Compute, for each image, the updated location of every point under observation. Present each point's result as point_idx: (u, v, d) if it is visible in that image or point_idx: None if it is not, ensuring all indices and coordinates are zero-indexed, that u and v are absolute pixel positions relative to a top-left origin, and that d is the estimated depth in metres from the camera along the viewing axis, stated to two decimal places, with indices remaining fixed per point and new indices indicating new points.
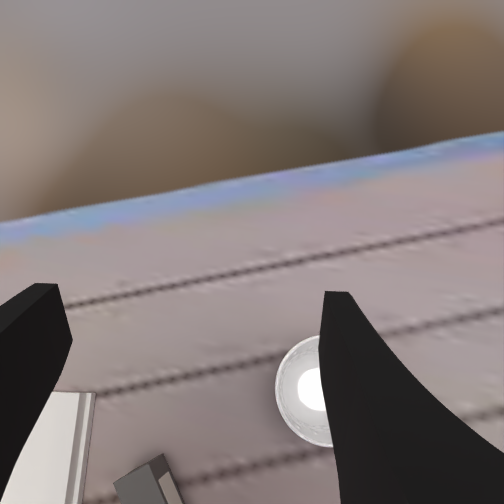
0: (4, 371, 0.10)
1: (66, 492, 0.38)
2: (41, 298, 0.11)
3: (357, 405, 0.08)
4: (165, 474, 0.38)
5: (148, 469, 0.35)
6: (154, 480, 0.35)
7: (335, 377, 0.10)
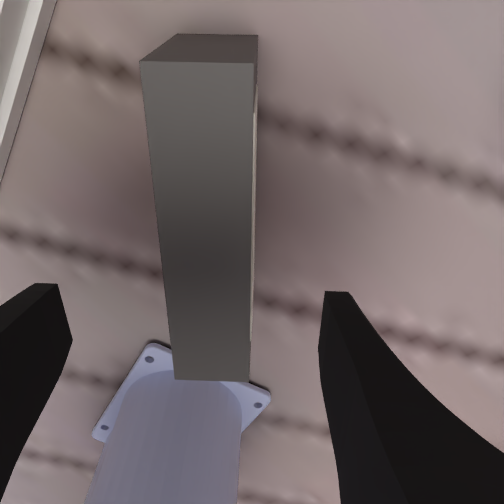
0: (4, 371, 0.10)
1: (4, 3, 0.14)
2: (41, 298, 0.11)
3: (357, 405, 0.08)
4: (256, 93, 0.16)
5: (247, 77, 0.12)
6: (250, 114, 0.12)
7: (335, 377, 0.10)
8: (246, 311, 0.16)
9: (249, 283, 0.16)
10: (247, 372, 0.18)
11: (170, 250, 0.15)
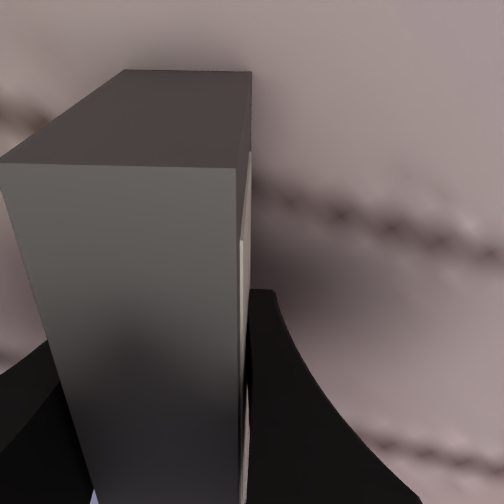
0: None
1: None
2: None
3: None
4: (248, 176, 0.09)
5: (222, 194, 0.06)
6: (231, 259, 0.06)
7: (249, 374, 0.10)
8: None
9: (236, 493, 0.09)
10: None
11: (99, 453, 0.09)
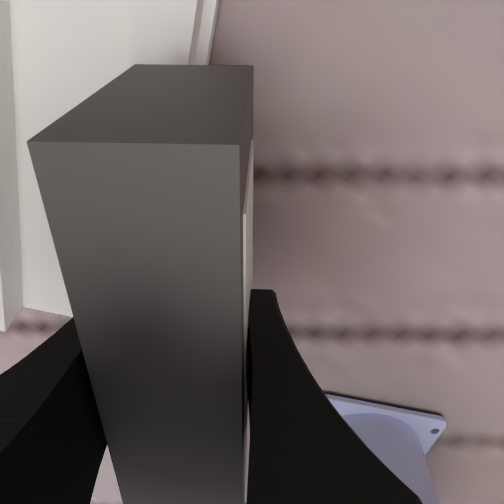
0: None
1: None
2: None
3: None
4: (250, 160, 0.10)
5: (227, 169, 0.06)
6: (236, 228, 0.07)
7: (249, 374, 0.10)
8: (237, 486, 0.11)
9: (241, 454, 0.10)
10: None
11: (115, 414, 0.09)
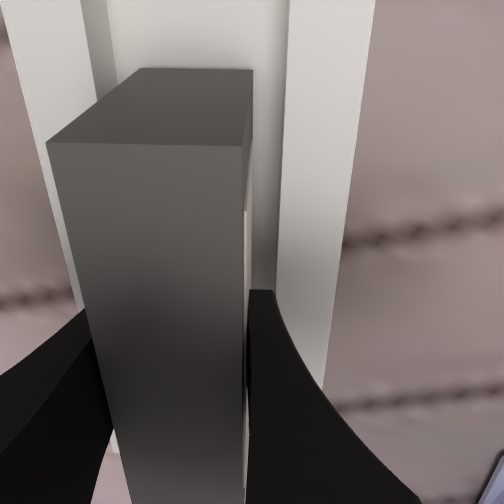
0: (94, 374, 0.10)
1: (338, 250, 0.13)
2: None
3: None
4: (250, 160, 0.11)
5: (230, 168, 0.07)
6: (237, 223, 0.08)
7: (249, 374, 0.10)
8: (237, 470, 0.11)
9: (240, 438, 0.11)
10: None
11: (121, 400, 0.10)
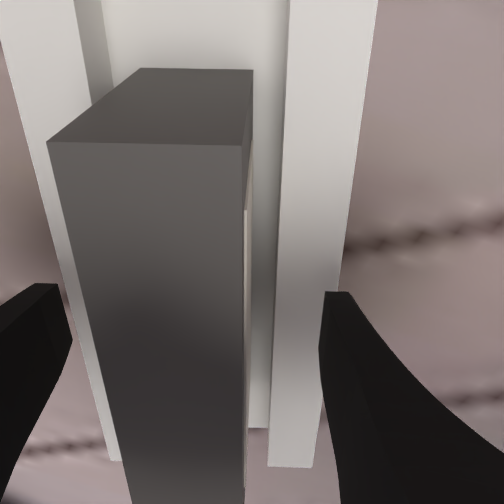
0: (4, 371, 0.10)
1: (340, 256, 0.13)
2: (41, 298, 0.11)
3: (357, 405, 0.08)
4: (250, 160, 0.11)
5: (230, 168, 0.07)
6: (237, 222, 0.08)
7: (335, 377, 0.10)
8: (237, 469, 0.11)
9: (240, 438, 0.11)
10: None
11: (122, 399, 0.10)
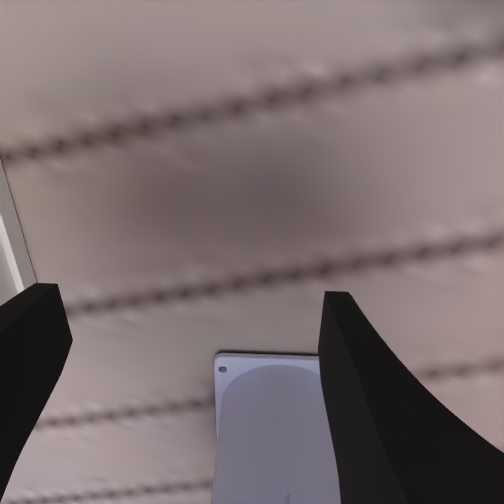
0: (4, 371, 0.10)
1: None
2: (41, 298, 0.11)
3: (357, 405, 0.08)
4: None
5: None
6: None
7: (335, 377, 0.10)
8: None
9: None
10: None
11: None
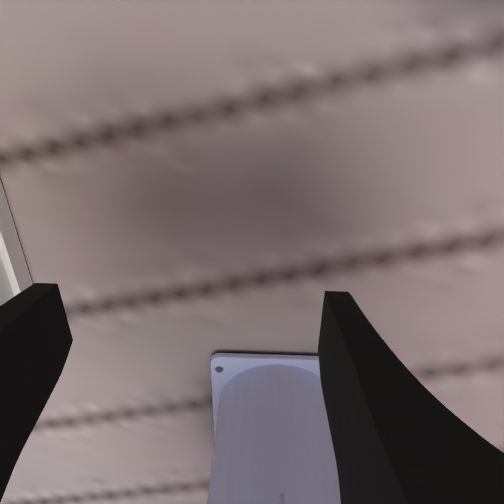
0: (4, 371, 0.10)
1: None
2: (41, 298, 0.11)
3: (357, 405, 0.08)
4: None
5: None
6: None
7: (335, 377, 0.10)
8: None
9: None
10: None
11: None
